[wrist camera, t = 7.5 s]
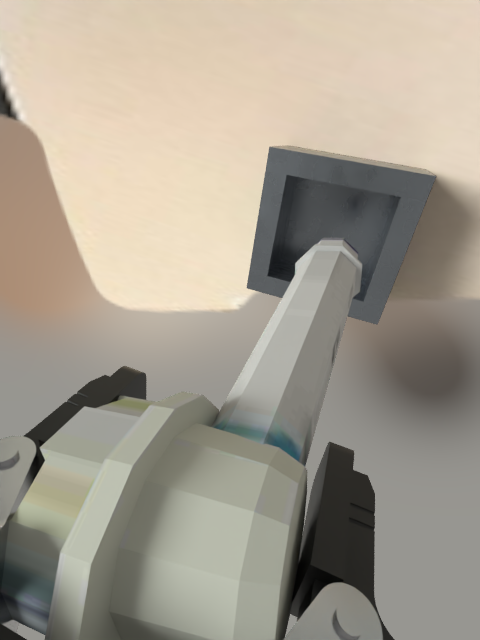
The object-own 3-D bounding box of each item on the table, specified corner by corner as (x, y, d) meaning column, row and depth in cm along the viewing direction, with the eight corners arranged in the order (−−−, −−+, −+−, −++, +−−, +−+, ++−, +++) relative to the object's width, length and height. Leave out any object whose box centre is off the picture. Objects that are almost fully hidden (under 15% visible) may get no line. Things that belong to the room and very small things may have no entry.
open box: (287, 145, 37) (269, 146, 31) (425, 169, 34) (436, 176, 28) (265, 266, 44) (246, 288, 38) (377, 296, 41) (377, 324, 35)
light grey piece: (359, 295, 27) (321, 849, 6) (275, 290, 29) (22, 684, 8) (365, 227, 25) (336, 727, 3) (273, 227, 27) (-88, 542, 6)
